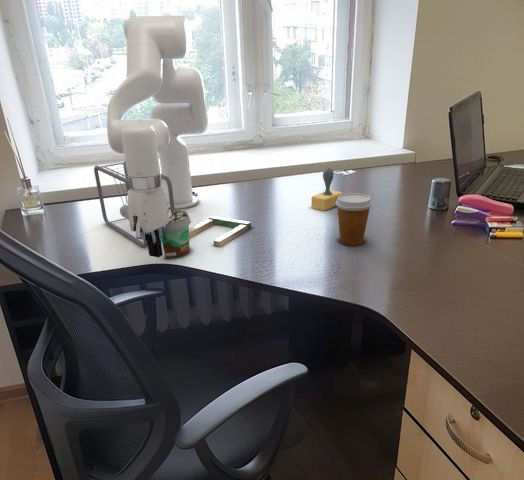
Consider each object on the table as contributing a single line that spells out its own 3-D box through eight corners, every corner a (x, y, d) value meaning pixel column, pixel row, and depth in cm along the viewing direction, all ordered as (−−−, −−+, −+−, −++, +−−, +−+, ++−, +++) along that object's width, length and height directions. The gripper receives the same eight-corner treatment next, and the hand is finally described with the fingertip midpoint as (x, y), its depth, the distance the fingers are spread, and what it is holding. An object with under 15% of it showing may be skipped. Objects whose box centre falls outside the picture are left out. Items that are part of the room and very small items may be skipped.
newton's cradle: (103, 223, 165) (92, 164, 156) (134, 215, 171) (125, 158, 161) (145, 250, 145) (135, 184, 135) (179, 241, 150) (171, 177, 140)
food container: (185, 262, 137) (181, 224, 131) (163, 260, 138) (157, 223, 132) (199, 244, 147) (196, 209, 141) (178, 243, 148) (174, 208, 143)
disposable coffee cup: (347, 250, 140) (349, 205, 134) (327, 239, 147) (329, 196, 141) (376, 243, 144) (380, 199, 137) (355, 232, 151) (358, 190, 145)
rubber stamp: (329, 200, 178) (330, 163, 172) (343, 203, 175) (345, 166, 168) (310, 207, 172) (311, 169, 166) (324, 210, 169) (326, 172, 162)
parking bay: (179, 239, 151) (178, 233, 150) (212, 221, 163) (211, 215, 163) (220, 246, 145) (219, 240, 144) (251, 227, 157) (250, 221, 157)
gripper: (153, 173, 130) (163, 243, 140) (110, 188, 119) (124, 263, 129) (177, 176, 127) (185, 248, 137) (136, 191, 116) (148, 269, 126)
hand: (156, 255), depth 133 cm, fingers closed
